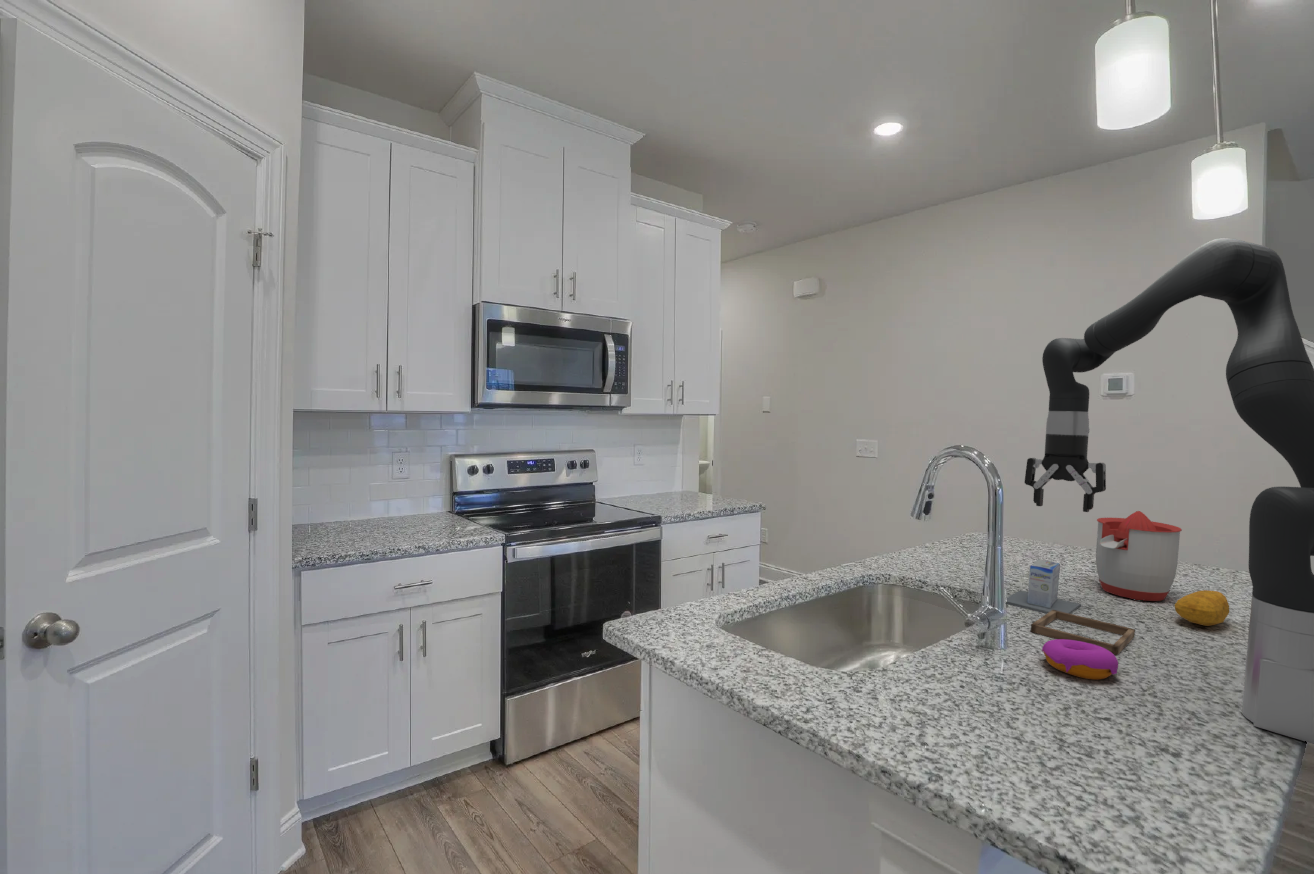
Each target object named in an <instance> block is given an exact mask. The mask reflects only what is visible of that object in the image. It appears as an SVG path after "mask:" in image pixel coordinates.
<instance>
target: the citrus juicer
mask: <svg viewBox="0 0 1314 874" xmlns="http://www.w3.org/2000/svg"><path fill="white" fill-rule="evenodd" d="M1096 521H1097V534H1096V536H1097V537H1096V546H1095V547H1096V548H1095V565H1096V572H1097V575H1098V581H1099V584H1100V586H1101V588H1102V590H1104V591H1105V592H1106V593H1110V594H1112V595H1115V596H1119V597H1124V598H1126V599H1128V598H1129V599H1131V600H1132V599H1135V600H1134V601H1136V600H1143V601H1148V602H1149V601H1150V602H1161V601H1163V600H1165V599H1166V597H1168V595H1169V593H1170V591H1171V588H1172V586H1173V584H1174V580H1175V578H1176V574H1177V568H1178V561H1179V560H1178V559H1179V549H1180V548H1179V547H1180V537H1181V532H1182V530H1183V529H1182V528H1181V527H1179V526H1176V525H1172V524H1167V523H1164V522H1163V523H1162V522H1158V521H1151V520H1150V518H1149V517H1148V516H1147V515H1146V514H1145V513H1144V512H1142V511H1139V510H1137V511H1135V512H1133V513H1132V514H1129V515H1128V516H1127V517H1099V518H1096Z"/></svg>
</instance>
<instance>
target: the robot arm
mask: <svg viewBox="0 0 1314 874" xmlns="http://www.w3.org/2000/svg"><path fill="white" fill-rule="evenodd" d="M1199 296H1202V297H1204V298H1205V297H1206V298H1209V299H1213V300H1214V299H1215V300H1218V301H1222V302H1225V304H1227V306H1228V308H1229V309H1230V311H1231V314H1232V316H1233V319H1234V322H1235V323H1234V324H1235V326H1236V330H1237V339H1236V342H1235V344H1234V345H1233V348H1232V350H1231V352H1230V355H1229V357H1228V360H1227V362H1226V363H1227V364H1226V368H1225V378H1226V382H1227V386H1228V389H1229V393H1230V396H1231V400H1232V403H1233V406H1234V409H1235V411H1236V412H1237V414H1238V416H1239V417H1240V419H1241V420H1242V421H1243V422H1244V423H1245V424H1246V425H1247V426H1248V427H1249V428H1250V429H1251V430H1252V431H1254V432H1255V433H1256V434H1257V435H1258V436H1259V437H1260V438H1262V439H1263V441H1265V442H1266V443H1267V444H1268V445H1270V446H1271V447H1272V448H1273V449H1274V450H1275V451H1276V452H1277V453H1278V454H1280V455H1281V456H1282V457H1283V458H1284V460H1285V461H1286V463H1287V464H1288V465H1289V466H1290V468H1291V469H1292V472H1293V473H1294V475H1295V477H1296V479H1297V482H1298V483H1299V486H1300V487H1299V486H1271V487H1268V488H1265V489H1264V490H1262V491H1261V492H1260V493H1259V494H1257V496H1256V497H1255V499H1254V501H1253V503H1252V506H1251V509H1250V513H1249V525H1248V574H1249V576H1250V580H1251V583H1252V591H1251V595H1252V596H1251V603H1250V615H1249V624H1248V634H1247V635H1248V636H1247V647H1246V656H1245V657H1246V658H1245V667H1244V668H1245V669H1244V678H1243V679H1244V680H1243V690H1242V691H1243V692H1242V703H1241V704H1242V705H1241V713H1242V715H1243V717H1245V718H1246V719H1247V720H1249V721H1250V722H1252V723H1253V726H1254V727H1256V728H1260V729H1263V730H1267V731H1270V732H1273V733H1276V734H1279V735H1283V736H1286V737H1289V738H1293V739H1296V740H1299V741H1303V742H1305V741H1306V743H1308V744H1312V745H1314V573H1313V571H1312V563H1311V557H1314V365H1313V364H1312V362H1311V359H1310V356H1309V354H1308V352H1307V349H1306V346H1305V344H1304V340H1303V339H1302V335H1301V332H1300V329H1299V326H1298V323H1297V321H1296V319H1295V316H1294V312H1293V307H1292V304H1291V303H1292V302H1291V297H1290V292H1289V285H1288V281H1287V275H1286V272H1285V267H1284V263H1283V261H1282V258H1281V257H1280V255H1279V254H1278V253H1277V252H1276V251H1275V250H1273V249H1272V248H1270V247H1268V246H1265V245H1262V244H1257V243H1253V242H1249V241H1245V240H1241V239H1236V238H1230V237H1228V238H1226V237H1221V238H1220V237H1219V238H1215V239H1212V240H1210V241H1208V242H1207V241H1206V242H1205V243H1203V244H1202V245H1200V246H1199V247H1197V248H1196V249H1194V250H1193V251H1191V252H1190V253H1189V254H1187V255H1186V256H1185V257H1183V258H1182V259H1181V260H1180V261H1179V262H1177V263H1176V264H1175V265H1174V266H1173V267H1171V268H1170V269H1169V270H1168V271H1166V272H1165V273H1164V274H1162V275H1161V276H1160V277H1159V278H1157V279H1156V280H1155V281H1154V282H1152V283H1151V284H1150V285H1149V286H1148V287H1146V289H1144V290H1143V291H1142V292H1140V293H1139V294H1138V295H1136V296H1135V297H1134V298H1132V299H1131V300H1130V301H1127V303H1126V304H1124V305H1122V306H1121V307H1119V308H1117V309H1115V310H1114V311H1112V312H1110V313H1108V314H1107V315H1105V316H1103V317H1102V318H1100V319H1098V320H1097V321H1095V322H1093V323H1092V324H1090V325H1089V326H1087V328H1086V329H1085V331H1084V333H1083V338H1068V337H1057V338H1055V339H1054V338H1053V339H1052V340H1050V341H1049V342H1048V343H1047V345H1046V346H1045V347H1044V350H1043V353H1042V357H1041V358H1042V367H1043V372H1044V375H1045V380H1046V383H1047V388H1048V391H1049V397H1048V398H1049V399H1048V412H1047V418H1046V423H1045V424H1046V426H1045V440H1044V441H1045V443H1044V445H1045V446H1044V457H1043V458H1042V459H1038V458H1035V457H1028V458H1027V460H1026V468H1025V475H1024V476H1025V477H1024V484H1025V485H1026V486H1029V487H1032V488H1033V503H1034V504H1035V505H1036V507H1042V506H1043V505H1044V491H1045V489H1044V488H1043V487H1045V485H1046V484H1048V482H1050V481H1051V480H1054V481H1062V480H1063V481H1066V482H1076V483H1077V485H1079V486H1080V487H1081V488H1082V489H1083V491H1084V492H1085V493H1084V494H1083V501H1082V502H1083V504H1082V512H1084V513H1089V512H1090V511H1091V510H1093V508H1094V501H1095V494H1096V493H1103V492H1105V491H1106V489H1107V480H1106V479H1107V473H1106V472H1107V471H1106V470H1107V468H1106V463H1105V462H1097V463H1096V462H1089V460H1088V451H1089V449H1088V447H1089V434H1090V419H1089V406H1090V405H1089V403H1090V389H1089V387H1088V386H1087V385H1085V384H1084V383H1080V382H1078V381H1077V380H1076V378H1075V374H1074V373H1088V372H1089V371H1093V370H1096V369H1097V368H1098V367H1100V366H1102V365H1103V364H1104V363H1105V362H1106V361H1107V360H1108V359H1110V358H1111V357H1112V356H1113V355H1114V354H1115V353H1116V352H1118V351H1120V350H1123V349H1124V348H1127V347H1128V346H1130V345H1132V344H1134V343H1136V342H1138V341H1140V340H1141V339H1143V338H1144V337H1146V336H1147V335H1149V334H1150V333H1151V332H1152V331H1153V330H1154V328H1156V326H1157V324H1158V323H1159V321H1160V320H1161V318H1162V317H1163V316H1164V314H1165V313H1166V312H1167V311H1168V310H1169V309H1171V308H1173V307H1174V306H1176V305H1178V304H1180V303H1182V302H1185V301H1188V300H1190V299H1193V298H1196V297H1199ZM1040 465H1041V466H1042V467H1043V468H1044V470H1045V472H1044V473H1043V474H1042V475H1041V476H1040V477H1039V479H1038V480H1037V481H1036V478H1035V477H1036V469H1039V467H1040ZM1089 469H1091V472H1092V473H1093V474H1095V486H1093V485H1092V483H1091V482H1090V481H1089V479H1088V478H1087V476H1086V475H1085V473H1086V472H1087V471H1088V470H1089Z"/></svg>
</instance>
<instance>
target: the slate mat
mask: <svg viewBox="0 0 1314 874" xmlns="http://www.w3.org/2000/svg"><path fill="white" fill-rule="evenodd" d="M1006 598H1007V605H1010V606H1013V607H1018V608H1019V607H1020V608H1023V609H1026V610H1030V611H1035V612H1039V613H1043V614H1045V615H1046V614H1047V613H1049V612H1050V611H1052V610H1057V611H1061V612H1065V613H1069V614H1073V612H1075V611H1076V610H1078V608H1080V607H1082V603H1080V602H1079V603H1078V602H1074V601H1069V600H1065V599H1061V598H1057V600H1056V601H1055V602H1054V604H1053V605H1052V606H1051V608H1045V607H1040V606H1036V605H1032V604H1028V603H1027V600H1028V591H1026V590H1022V589H1020V590H1018V591H1016V592H1014V593H1012V594H1010V595H1009V596H1007V597H1006Z"/></svg>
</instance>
